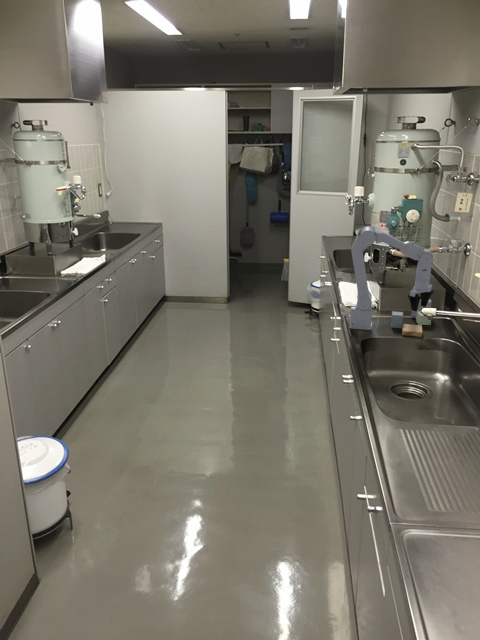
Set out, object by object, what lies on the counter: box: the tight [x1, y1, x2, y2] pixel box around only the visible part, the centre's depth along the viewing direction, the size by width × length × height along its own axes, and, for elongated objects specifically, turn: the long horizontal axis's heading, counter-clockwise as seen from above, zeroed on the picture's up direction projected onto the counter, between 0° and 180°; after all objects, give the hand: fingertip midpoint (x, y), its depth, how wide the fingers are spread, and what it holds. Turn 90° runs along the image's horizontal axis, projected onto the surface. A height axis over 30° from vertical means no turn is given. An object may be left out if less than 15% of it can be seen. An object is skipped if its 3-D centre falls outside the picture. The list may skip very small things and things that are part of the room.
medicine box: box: [410, 299, 432, 319], centre depth 239 cm, size 8×4×9 cm, turn 65°
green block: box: [415, 311, 432, 325], centre depth 233 cm, size 5×6×5 cm
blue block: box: [390, 310, 404, 329], centre depth 231 cm, size 4×4×6 cm
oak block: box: [401, 323, 423, 338], centre depth 224 cm, size 8×8×2 cm
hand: (418, 308), depth 223 cm, fingers open, 7 cm apart
